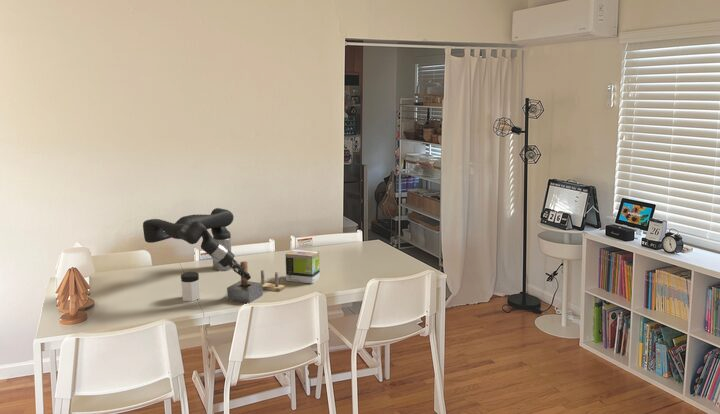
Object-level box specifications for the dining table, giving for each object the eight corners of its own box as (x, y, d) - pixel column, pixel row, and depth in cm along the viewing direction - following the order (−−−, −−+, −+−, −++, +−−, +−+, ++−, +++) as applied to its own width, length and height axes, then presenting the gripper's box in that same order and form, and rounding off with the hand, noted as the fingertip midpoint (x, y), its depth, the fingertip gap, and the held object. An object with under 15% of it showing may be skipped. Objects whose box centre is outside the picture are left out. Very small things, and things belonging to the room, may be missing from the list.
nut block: (227, 299, 292) (226, 287, 291) (241, 291, 303) (241, 280, 301) (249, 303, 287) (248, 291, 286) (262, 295, 298) (262, 283, 297)
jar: (194, 294, 300) (192, 270, 297) (204, 297, 295) (202, 273, 292) (178, 299, 293) (176, 274, 290) (188, 303, 288) (186, 278, 285)
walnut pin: (240, 291, 293) (239, 263, 291) (243, 289, 296) (242, 261, 293) (245, 292, 292) (244, 263, 289) (249, 290, 295) (248, 261, 292)
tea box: (320, 278, 323) (319, 250, 320) (312, 284, 314) (312, 256, 311) (294, 275, 328) (293, 248, 325) (285, 281, 319) (284, 253, 316)
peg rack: (255, 287, 308) (254, 271, 307) (260, 284, 313) (260, 268, 311) (279, 291, 303) (279, 275, 301) (284, 288, 308) (284, 272, 306)
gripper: (214, 256, 293) (241, 278, 300) (217, 265, 280) (245, 288, 287) (225, 245, 294) (251, 267, 300) (229, 253, 281) (257, 275, 287)
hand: (248, 277), depth 294 cm, fingers closed on walnut pin, 3 cm apart
